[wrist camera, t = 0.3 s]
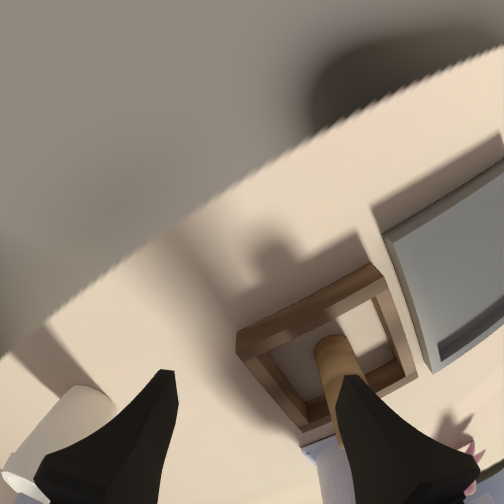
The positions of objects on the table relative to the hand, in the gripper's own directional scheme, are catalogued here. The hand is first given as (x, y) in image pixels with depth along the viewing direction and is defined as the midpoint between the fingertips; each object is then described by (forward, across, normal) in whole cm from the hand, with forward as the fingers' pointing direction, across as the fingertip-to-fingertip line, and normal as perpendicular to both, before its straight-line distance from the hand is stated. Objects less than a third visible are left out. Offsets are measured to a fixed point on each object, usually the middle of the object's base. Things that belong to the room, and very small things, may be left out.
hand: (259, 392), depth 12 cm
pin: (+10, -6, +5) cm, 13 cm away
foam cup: (+10, +16, +15) cm, 24 cm away
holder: (+10, -6, +5) cm, 13 cm away
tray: (+10, -18, -2) cm, 21 cm away
